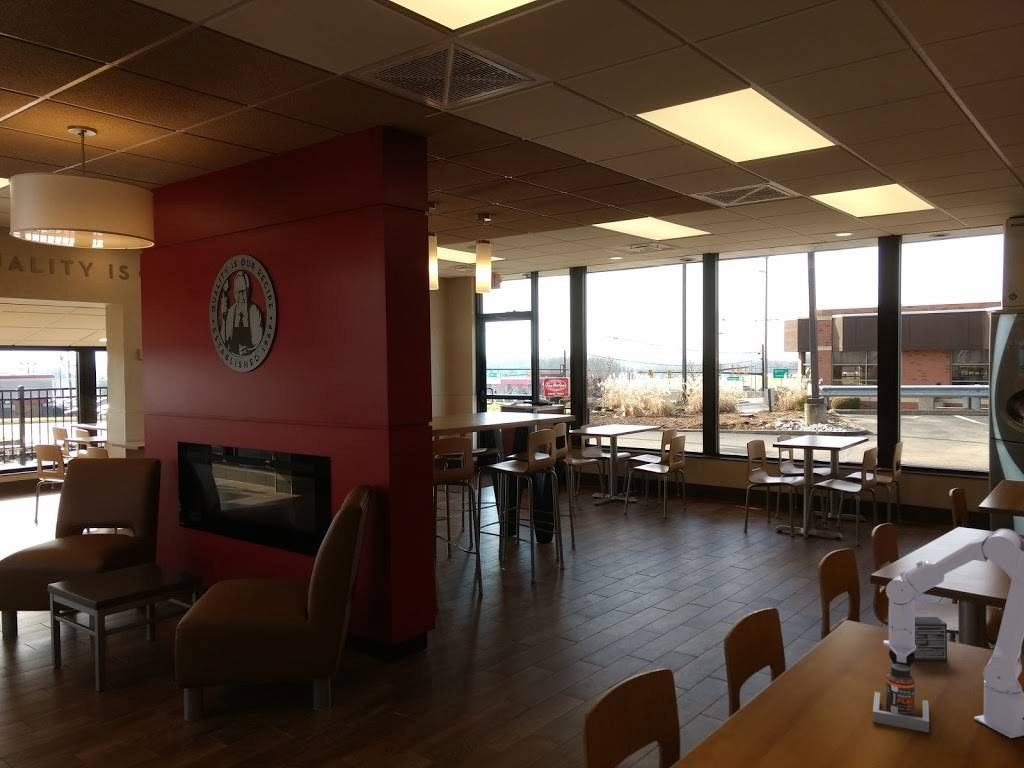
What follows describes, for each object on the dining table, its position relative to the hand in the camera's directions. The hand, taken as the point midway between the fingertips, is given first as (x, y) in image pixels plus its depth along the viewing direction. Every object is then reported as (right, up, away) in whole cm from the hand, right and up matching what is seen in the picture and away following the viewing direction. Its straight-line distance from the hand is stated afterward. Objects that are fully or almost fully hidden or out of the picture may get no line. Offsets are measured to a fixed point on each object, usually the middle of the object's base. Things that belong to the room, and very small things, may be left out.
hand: (901, 680), depth 187 cm
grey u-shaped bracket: (-5, -5, -8) cm, 11 cm away
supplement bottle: (-4, -5, -8) cm, 10 cm away
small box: (+19, -3, +25) cm, 31 cm away
